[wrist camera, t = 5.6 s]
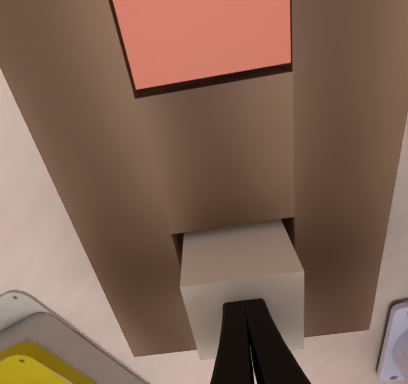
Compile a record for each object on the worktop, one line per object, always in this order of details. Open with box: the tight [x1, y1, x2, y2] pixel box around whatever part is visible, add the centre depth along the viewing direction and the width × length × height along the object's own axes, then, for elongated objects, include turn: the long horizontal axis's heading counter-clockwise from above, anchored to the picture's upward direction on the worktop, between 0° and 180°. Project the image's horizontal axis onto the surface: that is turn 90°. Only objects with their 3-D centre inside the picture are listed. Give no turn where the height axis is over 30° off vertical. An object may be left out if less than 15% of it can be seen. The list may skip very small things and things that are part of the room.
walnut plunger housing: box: [0, 0, 408, 357], centre depth 11 cm, size 12×20×3 cm, turn 9°
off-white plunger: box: [180, 219, 304, 360], centre depth 11 cm, size 4×4×3 cm
